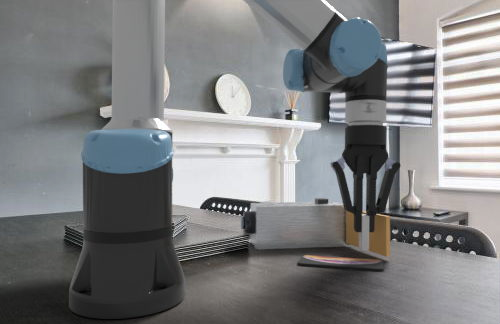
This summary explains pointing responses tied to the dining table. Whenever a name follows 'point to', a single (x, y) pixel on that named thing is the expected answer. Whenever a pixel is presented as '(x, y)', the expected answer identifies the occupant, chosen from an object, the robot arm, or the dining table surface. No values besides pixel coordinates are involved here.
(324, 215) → the silver box with door
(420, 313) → the dining table surface
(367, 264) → the smartphone
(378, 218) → the side door
